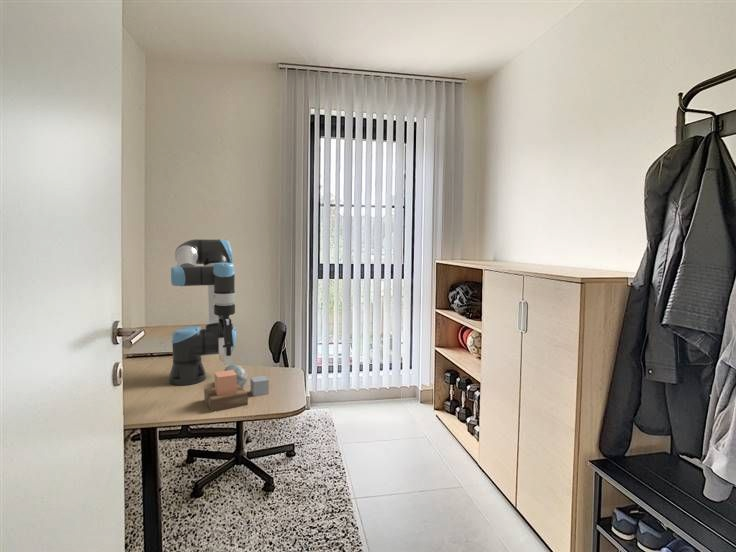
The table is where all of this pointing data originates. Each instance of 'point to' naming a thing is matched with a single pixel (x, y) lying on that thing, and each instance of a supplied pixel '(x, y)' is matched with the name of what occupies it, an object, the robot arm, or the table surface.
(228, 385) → the terracotta cube
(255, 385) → the grey cube
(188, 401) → the table surface
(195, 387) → the table surface
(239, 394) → the walnut block
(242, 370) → the yarn skein
